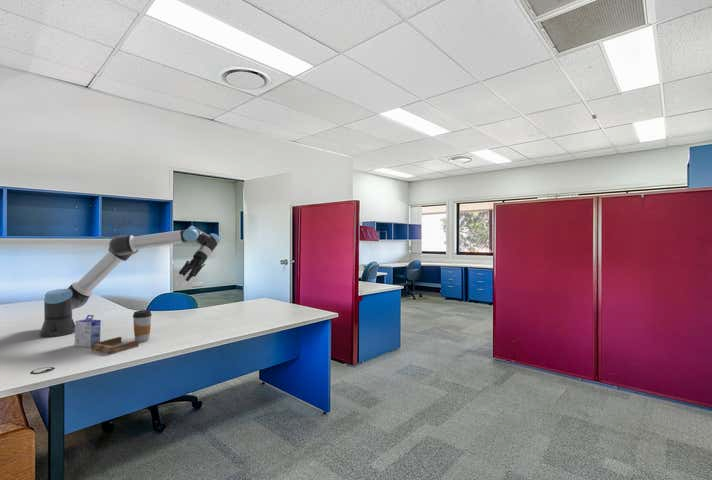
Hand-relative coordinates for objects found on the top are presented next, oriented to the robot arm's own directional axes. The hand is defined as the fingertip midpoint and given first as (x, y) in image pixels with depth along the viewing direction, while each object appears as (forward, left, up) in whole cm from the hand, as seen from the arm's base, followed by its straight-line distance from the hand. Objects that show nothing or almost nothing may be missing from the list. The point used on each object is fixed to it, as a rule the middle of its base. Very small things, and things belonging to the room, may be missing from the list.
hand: (179, 284), depth 203 cm
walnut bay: (0, -36, -26) cm, 44 cm away
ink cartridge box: (-17, -38, -27) cm, 50 cm away
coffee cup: (0, -22, -26) cm, 34 cm away
